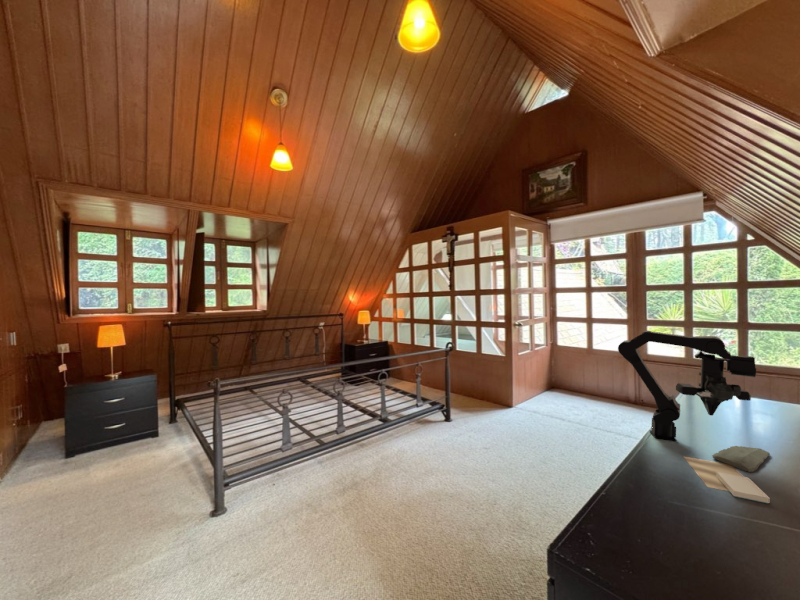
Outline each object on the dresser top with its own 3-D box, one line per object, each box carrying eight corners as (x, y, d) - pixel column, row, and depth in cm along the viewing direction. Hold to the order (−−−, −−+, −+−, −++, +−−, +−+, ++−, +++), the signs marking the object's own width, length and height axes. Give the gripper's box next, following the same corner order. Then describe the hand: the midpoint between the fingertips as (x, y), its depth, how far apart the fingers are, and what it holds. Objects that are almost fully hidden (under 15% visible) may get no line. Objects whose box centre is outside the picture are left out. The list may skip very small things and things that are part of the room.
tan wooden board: (683, 457, 108) (683, 456, 108) (731, 466, 103) (731, 464, 103) (707, 488, 92) (707, 486, 92) (766, 500, 86) (766, 498, 86)
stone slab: (710, 462, 106) (753, 473, 98) (709, 453, 106) (752, 464, 98) (733, 448, 117) (774, 456, 109) (732, 440, 117) (773, 448, 109)
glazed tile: (716, 471, 96) (734, 490, 87) (748, 477, 93) (769, 498, 84) (716, 477, 96) (733, 496, 87) (747, 483, 93) (769, 504, 84)
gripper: (691, 375, 109) (689, 420, 110) (763, 380, 103) (761, 428, 103) (675, 367, 120) (674, 408, 120) (740, 372, 113) (738, 415, 114)
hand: (710, 415), depth 114 cm, fingers closed
